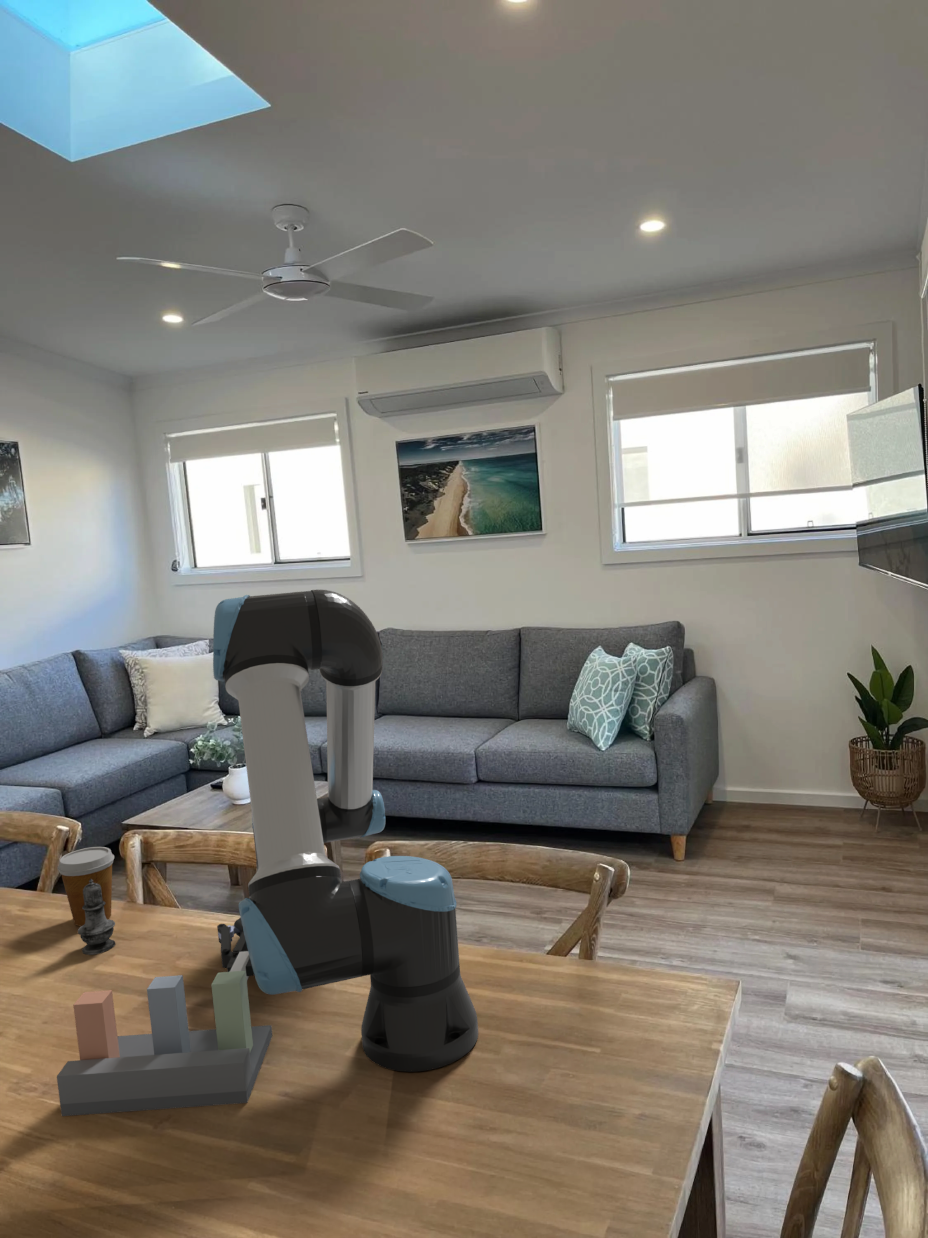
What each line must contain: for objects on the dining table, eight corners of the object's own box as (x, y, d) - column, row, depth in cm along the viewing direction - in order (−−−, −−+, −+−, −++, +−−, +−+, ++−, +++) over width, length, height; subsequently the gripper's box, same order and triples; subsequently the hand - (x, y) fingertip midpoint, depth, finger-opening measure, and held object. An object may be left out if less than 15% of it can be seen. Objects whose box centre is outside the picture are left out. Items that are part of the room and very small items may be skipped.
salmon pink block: (120, 1066, 111) (111, 990, 110) (111, 1081, 108) (102, 1003, 107) (93, 1068, 111) (83, 992, 110) (82, 1083, 108) (73, 1005, 107)
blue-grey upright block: (190, 1050, 113) (182, 975, 112) (183, 1064, 110) (175, 987, 109) (163, 1051, 113) (155, 977, 112) (155, 1065, 110) (146, 989, 109)
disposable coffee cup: (67, 914, 164) (60, 851, 163) (122, 904, 167) (115, 842, 166) (61, 935, 155) (52, 869, 154) (118, 924, 158) (111, 859, 157)
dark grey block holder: (272, 1035, 118) (268, 1000, 118) (247, 1103, 104) (243, 1063, 104) (108, 1047, 118) (104, 1012, 118) (61, 1116, 104) (56, 1076, 104)
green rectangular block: (253, 1045, 113) (245, 970, 112) (247, 1059, 110) (239, 982, 109) (225, 1047, 113) (218, 972, 112) (219, 1061, 110) (211, 984, 109)
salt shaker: (104, 956, 146) (95, 886, 145) (72, 955, 147) (63, 885, 146) (124, 939, 151) (116, 872, 150) (93, 939, 153) (85, 871, 152)
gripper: (313, 928, 141) (286, 1007, 117) (231, 935, 141) (188, 1015, 117) (308, 883, 140) (281, 953, 117) (226, 889, 140) (182, 961, 116)
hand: (234, 984), depth 117 cm, fingers closed
